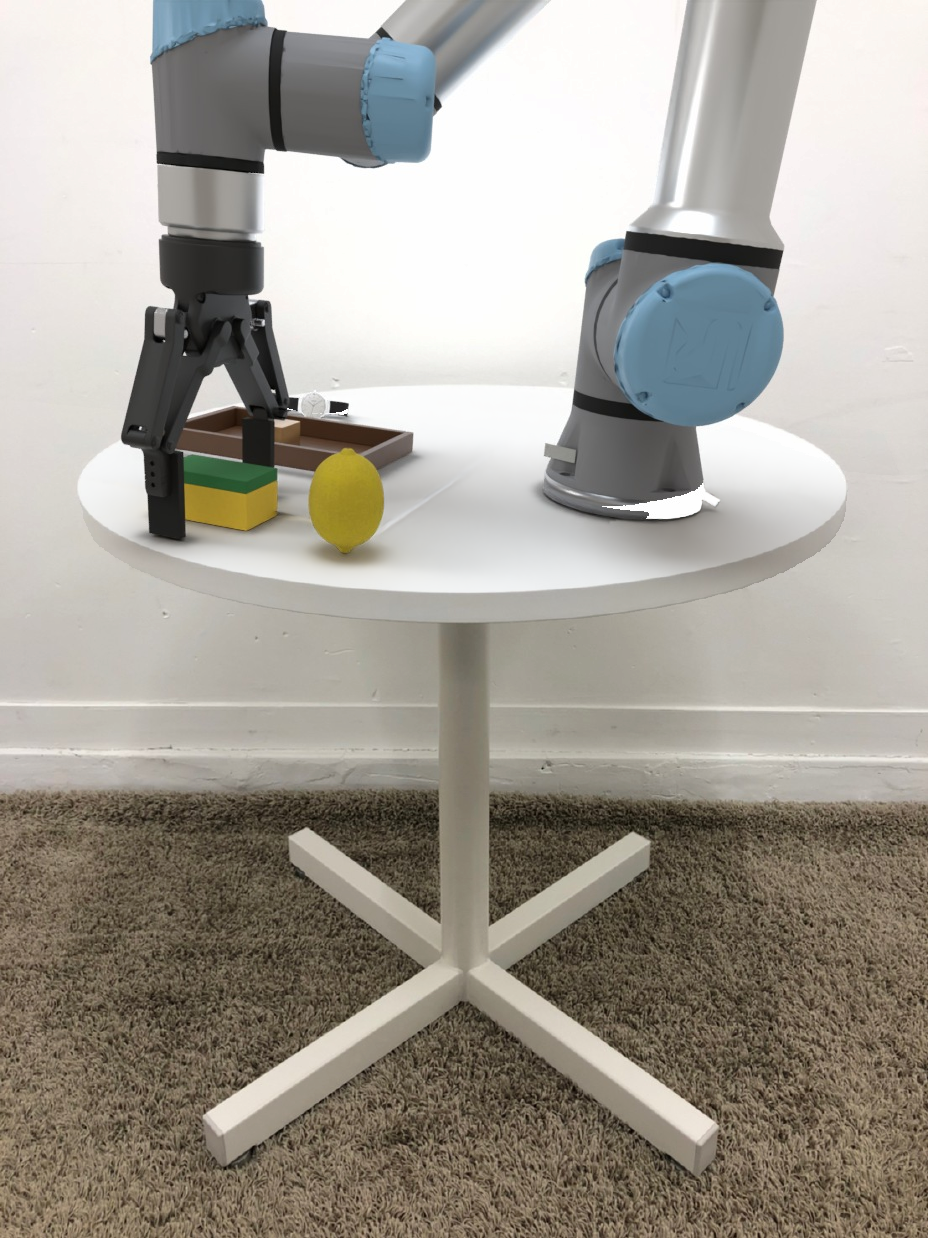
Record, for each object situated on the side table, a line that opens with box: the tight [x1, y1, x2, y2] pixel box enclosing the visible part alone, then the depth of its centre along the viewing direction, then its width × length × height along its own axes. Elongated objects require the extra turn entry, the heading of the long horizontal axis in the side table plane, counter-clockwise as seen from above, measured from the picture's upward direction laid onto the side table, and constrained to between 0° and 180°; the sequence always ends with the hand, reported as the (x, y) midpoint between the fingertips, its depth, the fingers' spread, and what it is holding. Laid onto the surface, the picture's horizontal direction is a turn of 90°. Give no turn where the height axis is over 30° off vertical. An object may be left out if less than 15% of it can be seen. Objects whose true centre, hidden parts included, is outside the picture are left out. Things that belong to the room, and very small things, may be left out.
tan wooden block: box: [274, 419, 300, 446], centre depth 100 cm, size 4×4×2 cm
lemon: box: [308, 448, 385, 554], centre depth 71 cm, size 6×6×8 cm
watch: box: [287, 389, 350, 419], centre depth 117 cm, size 8×5×4 cm, turn 85°
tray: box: [163, 405, 414, 473], centre depth 99 cm, size 22×14×3 cm, turn 72°
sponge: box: [184, 454, 278, 532], centre depth 78 cm, size 5×8×4 cm, turn 72°
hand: (216, 513), depth 79 cm, fingers open, 13 cm apart
